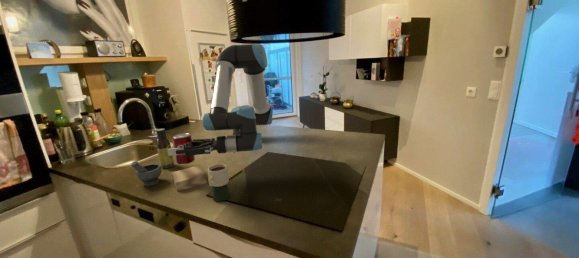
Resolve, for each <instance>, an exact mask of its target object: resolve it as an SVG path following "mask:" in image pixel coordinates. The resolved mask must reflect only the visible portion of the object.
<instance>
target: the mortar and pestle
mask: <svg viewBox="0 0 579 258" xmlns="http://www.w3.org/2000/svg"><path fill="white" fill-rule="evenodd" d="M130 166H131V168H134V169H135V175H136V176H137V178H138V180H140V181H141V182H143V183H142V184H143V185H144V186H145V187H149V186H154V185H156V184H158V183H159V182H160V178H159V177H160V176H161V174H162V168H161V164H159V163H152V164H145V165H141V164H140V163H139V161H138V160H135V161H133V162H132V163H131V164H130Z"/></svg>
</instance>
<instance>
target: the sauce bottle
mask: <svg viewBox="0 0 579 258" xmlns="http://www.w3.org/2000/svg"><path fill="white" fill-rule="evenodd" d="M155 133H156V136H157V141H156V149H157V154H158V159H159V163H160V164H159V165H160V166H161V169H169V168H172V167H174V165H175V160H174V155H171V156H169V155H168V150H167V149H172V146H171V142H170V140H169V139H168V138H167V134H166V129H165V128H157V129H156V130H155Z"/></svg>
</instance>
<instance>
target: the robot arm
mask: <svg viewBox="0 0 579 258" xmlns="http://www.w3.org/2000/svg"><path fill="white" fill-rule="evenodd" d="M267 57H268V56H267V54H266V48H265V47H264V45H262V44H260V43H252V44H232V45H230V46H228V47H226V48H225V49H223V50H222V51H221V52H220V53H219V55H218V57H217V59H216V62H215V66H214V67H215V71H216V72H215V73H216V74H215V78H214V79H215V80H214V85H213V92H212V97H211V103H210V104H211V105H210V110H209V112H207V113H204V114H203V115H202V118H201V119H202V120H201V121H202V127H203V128H204V130H206V131H210V132H211V131H213V132H216V131H225V130H226V131H227V130H229V131H231V130H232V134H230V135H229V134H228V135H217V137H216V139H215V137H212V138H197V139H192V144H193V147H189V148H185V147H184V148H174V147H171V149H167V150H168V155H169V156H171V155H173V156H176V155H182V154H185V156H192V155H194V156H199V155H208V154H209V155H210V154H211V152H214V151H216V152H217V154H226V153H233V154H236V153H238V152H239V153H240V152H253V151H259V150H262V149H263V137H262V135H263V134H262V133H260V132H258V129H257V126H268V125H272V123H273V112H274V111H273V110H274V107H273V106H271V104H270V103H269V102H268V101H267V100H268V98H267V93H266V84H265V77H264V72H265V70H266V68H267V67H268V58H267ZM238 69H243V73H244V74H246V75H247V78H248V79H247V80H248V85H249V90H250V96H251V100H252V106H250V105H248V104H246V105H238V106H235V107H233V108H232V109H231V110H230V111H229V104H230V96H231V89H232V82H233V81H232V80H233V75H234V74H235V72H236V70H238Z"/></svg>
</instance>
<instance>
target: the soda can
mask: <svg viewBox="0 0 579 258" xmlns="http://www.w3.org/2000/svg"><path fill="white" fill-rule="evenodd" d="M171 139H172V144H173V148H184V147H185V148H189V147H193V144H192V141H193V138H192V135H191V134H190V133H187V132H185V133H178V134H175V135H173V137H172V138H171ZM175 159H176V163H177V165H180V166H186V165H190V164H192V163H194V161H195V159H196V158H195V155H192V156H185V154H182V155H175Z"/></svg>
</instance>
